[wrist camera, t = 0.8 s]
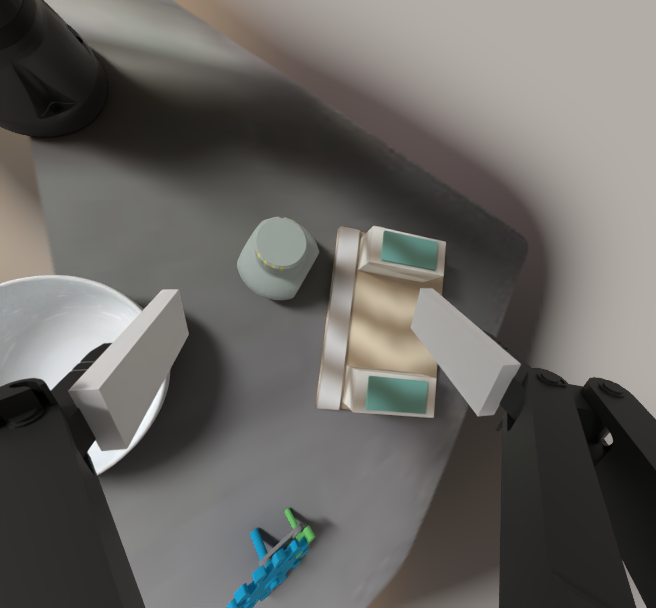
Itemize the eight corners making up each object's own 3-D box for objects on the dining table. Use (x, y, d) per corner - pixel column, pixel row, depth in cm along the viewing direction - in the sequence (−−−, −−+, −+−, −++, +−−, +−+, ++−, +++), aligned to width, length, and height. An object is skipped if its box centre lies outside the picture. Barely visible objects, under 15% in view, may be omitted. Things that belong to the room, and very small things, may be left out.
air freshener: (285, 311, 37) (290, 304, 28) (232, 282, 36) (218, 264, 26) (321, 248, 39) (337, 221, 30) (272, 219, 38) (273, 180, 29)
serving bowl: (178, 455, 33) (155, 487, 26) (-34, 470, 28) (-128, 513, 22) (191, 290, 35) (173, 281, 28) (-4, 280, 31) (-80, 266, 24)
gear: (250, 623, 31) (214, 633, 24) (232, 567, 35) (197, 562, 28) (324, 546, 35) (311, 536, 28) (301, 503, 39) (285, 486, 32)
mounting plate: (337, 230, 40) (350, 211, 34) (441, 252, 44) (469, 239, 38) (315, 405, 37) (325, 420, 31) (429, 413, 40) (458, 428, 34)
